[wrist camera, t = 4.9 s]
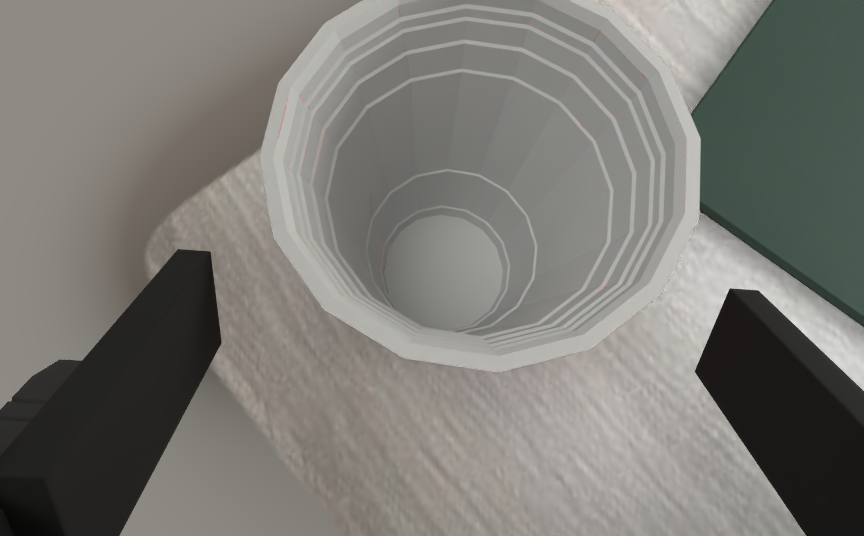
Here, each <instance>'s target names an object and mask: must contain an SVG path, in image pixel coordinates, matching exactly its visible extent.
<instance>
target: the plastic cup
mask: <svg viewBox="0 0 864 536" xmlns="http://www.w3.org/2000/svg"><path fill="white" fill-rule="evenodd" d="M700 150H701V138H700V136H699V133H698V131H697V129H696V126H695V124H694V122H693V119H692V117H691V115H690V112H689V110H688V107H687V105H686V103H685V100H684V98H683V96H682V93H681V91H680V89H679V86H678V84H677V82H676V79H675V77H674V75H673V72H672V70H671V68H670V66H669V65H668V64H667V63H666V62H665V61H664V60H663V59H662V58H661V57H660V56H659V55H658V54H657V53H656V52H655V51H654V50H653V49H652V48H651V47H650V46H649V45H648V44H647V43H646V42H645V41H644V40H643V39H642V38H641V37H640V36H639V35H638V34H637V33H636V32H635V31H634V30H633V29H632V28H631V27H630V26H629V25H628V24H627V23H626V22H625V21H624V20H623V19H622V18H621V17H620V16H619V15H618V14H617V13H616V12H615V11H614V10H612V9H609V8H607V7H605V6H603V5H601V4H599V3H597V2H595V1H593V0H363V1H361V2H359V3H357V4H356V5H354V6H352V7H351V8H349V9H347V10H346V11H344V12H343V13H341V14H339V15H338V16H336V17H334V18H332V19H331V20H329V21H328V22H326V23H325V24H324V25H323V26H322V27H321V29H320V30H319V31H318V33H317V34H316V35H315V37H314V38H313V39H312V40H311V42H310V43H309V44H308V46H307V47H306V48H305V49H304V51H303V52H302V53H301V55H300V56H299V57H298V58H297V60H296V61H295V62H294V64H293V65H292V66H291V67H290V69H289V70H288V71H287V73H286V74H285V75H284V77H283V78H282V79H281V80H280V82H279V83H278V86H277V90H276V94H275V98H274V102H273V106H272V110H271V114H270V117H269V121H268V125H267V129H266V133H265V137H264V140H263V144H262V148H261V152H260V156H259V161H260V166H261V172H262V178H263V183H264V189H265V194H266V200H267V205H268V211H269V216H270V222H271V228H272V233H273V238H274V240H275V241H276V242H277V244H278V245H279V247H280V248H281V250H282V251H283V252H284V254H285V255H286V257H287V258H288V260H289V261H290V262H291V264H292V265H293V267H294V268H295V270H296V271H297V272H298V274H299V275H300V277H301V278H302V280H303V281H304V283H305V284H306V285H307V287H308V288H309V290H310V291H311V293H312V294H313V295H314V297H315V298H316V300H317V301H318V303H319V304H320V305H321V307H322V308H323V310H325V311H327V312H328V313H330V314H331V315H333V316H335V317H336V318H338V319H340V320H341V321H343V322H345V323H346V324H348V325H350V326H351V327H353V328H354V329H356V330H358V331H359V332H361V333H363V334H364V335H366V336H368V337H369V338H371V339H372V340H374V341H376V342H377V343H379V344H381V345H382V346H384V347H386V348H387V349H389V350H390V351H392V352H394V353H395V354H397V355H399V356H400V357H402V358H404V359H411V360H418V361H424V362H431V363H438V364H444V365H451V366H458V367H464V368H471V369H478V370H484V371H491V372H497V373H500V372H504V371H508V370H512V369H516V368H519V367H523V366H527V365H531V364H535V363H539V362H543V361H547V360H551V359H555V358H559V357H562V356H566V355H570V354H574V353H578V352H582V351H586V350H590V349H592V348H593V347H595V346H596V345H597V344H598V343H600V342H601V341H602V340H604V339H605V338H606V337H607V336H609V335H610V334H611V333H612V332H614V331H615V330H616V329H617V328H619V327H620V326H621V325H623V324H624V323H625V322H626V321H628V320H629V319H630V318H631V317H633V316H634V315H635V314H636V313H638V312H639V311H640V310H642V309H643V308H644V307H645V306H647V305H648V304H649V303H650V302H652V301H653V300H654V299H655V298H657V297H658V296H659V295H660V294H662V292H663V290H664V288H665V286H666V284H667V282H668V280H669V278H670V276H671V274H672V272H673V270H674V268H675V266H676V264H677V262H678V260H679V258H680V256H681V254H682V252H683V250H684V248H685V246H686V244H687V242H688V240H689V238H690V236H691V234H692V232H693V230H694V228H695V226H696V224H697V222H698V220H699V209H700Z"/></svg>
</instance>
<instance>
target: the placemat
mask: <svg viewBox="0 0 864 536" xmlns="http://www.w3.org/2000/svg"><path fill="white" fill-rule="evenodd" d="M691 117H692V119H693V122H694V124H695V126H696V129H697V131H698V133H699V136H700V138H701V150H700V209H699V210H700V211H702V212H703V213H705V214H706V215H708V216H709V217H710V218H712V219H713V220H715V221H716V222H717V223H719V224H720V225H722V226H723V227H724V228H726V229H727V230H729V231H730V232H732V233H733V234H734V235H736V236H737V237H739V238H740V239H741V240H743V241H744V242H746V243H747V244H749V245H750V246H751V247H753V248H754V249H756V250H757V251H758V252H760V253H761V254H763V255H764V256H765V257H767V258H768V259H770V260H771V261H773V262H774V263H775V264H777V265H778V266H780V267H781V268H782V269H784V270H785V271H787V272H788V273H789V274H791V275H792V276H794V277H795V278H797V279H798V280H799V281H801V282H802V283H804V284H805V285H806V286H808V287H809V288H811V289H812V290H813V291H815V292H816V293H818V294H819V295H821V296H822V297H823V298H825V299H826V300H828V301H829V302H830V303H832V304H833V305H835V306H836V307H838V308H839V309H840V310H842V311H843V312H845V313H846V314H847V315H849V316H850V317H852V318H853V319H854V320H856V321H857V322H859V323H860V324H862V325H863V326H864V0H773V1H772V2H771V3H770V5H769V6H768V8H767V9H766V10H765V12H764V13H763V15H762V16H761V17H760V19H759V20H758V22H757V23H756V24H755V26H754V27H753V28H752V30H751V31H750V33H749V34H748V35H747V37H746V38H745V40H744V41H743V42H742V44H741V45H740V47H739V48H738V49H737V51H736V52H735V54H734V55H733V56H732V58H731V59H730V60H729V62H728V63H727V65H726V66H725V67H724V69H723V70H722V72H721V73H720V74H719V76H718V77H717V79H716V80H715V81H714V83H713V84H712V86H711V87H710V88H709V90H708V91H707V92H706V94H705V95H704V97H703V98H702V99H701V101H700V102H699V104H698V105H697V106H696V108H695V109H694V111H693V112H692V113H691Z"/></svg>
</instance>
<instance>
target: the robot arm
mask: <svg viewBox="0 0 864 536" xmlns="http://www.w3.org/2000/svg"><path fill="white" fill-rule="evenodd" d="M220 345H221V334H220V326H219V318H218V310H217V301H216V293H215V285H214V277H213V268H212V260H211V252H210V251H195V250H181V249H178V250H177V251H176V252H175V254H174V255H173V256H172V257H171V258H170V259H169V260H168V262H167V263H166V264H165V265H164V266H163V267H162V269H161V270H160V271H159V272H158V273H157V274H156V276H155V277H154V278H153V279H152V280H151V281H150V283H149V284H148V285H147V286H146V287H145V288H144V290H143V291H142V292H141V293H140V294H139V295H138V297H137V298H136V299H135V300H134V301H133V303H131V305H130V306H129V307H128V308H127V309H126V310H125V312H124V313H123V314H122V315H121V316H120V317H119V319H118V320H117V321H116V322H115V323H114V324H113V326H112V327H111V328H110V329H109V330H108V331H107V333H106V334H105V335H104V336H103V337H102V338H101V340H100V341H99V342H98V343H97V344H96V345H95V347H94V348H93V349H92V350H91V351H90V352H89V354H88V355H87V356H86V357H85V358H84V359H83V360H82V361H74V360H58V361H57V362H55V363H54V364H52V365H50V366H49V367H47V368H45V369H44V370H42V371H40V372H39V373H37V374H36V375H34V376H32V377H31V378H30V379H29V380H28V381H27V383H26V384H24V386H23V387H22V388H21V389H20V390H19V391H18V392H17V393H16V394H15V395H14V396H13V397H12V401H11V402H7V403H6V404H5V406H4V407H3V408H2V409H1V410H0V536H119V535H120V533H121V531H122V530H123V528H124V526H125V524H126V522H127V520H128V518H129V516H130V514H131V513H132V511H133V509H134V507H135V505H136V503H137V501H138V499H139V497H140V496H141V494H142V492H143V490H144V488H145V486H146V484H147V482H148V480H149V479H150V477H151V475H152V473H153V471H154V469H155V467H156V465H157V463H158V462H159V460H160V458H161V456H162V454H163V452H164V450H165V448H166V447H167V445H168V442H169V441H170V439H171V437H172V435H173V433H174V431H175V429H176V428H177V426H178V424H179V422H180V420H181V418H182V416H183V414H184V413H185V410H186V409H187V407H188V405H189V403H190V401H191V399H192V397H193V396H194V393H195V392H196V390H197V388H198V386H199V384H200V382H201V380H202V379H203V377H204V375H205V373H206V371H207V369H208V367H209V365H210V363H211V362H212V360H213V358H214V356H215V354H216V352H217V350H218V348H219V346H220ZM695 373H696V374H697V376H698V377H699V379H700V380H701V382H702V383H703V385H704V386H705V387H706V389H707V390H708V392H709V393H710V395H711V396H712V398H713V399H714V401H715V402H716V404H717V405H718V407H719V408H720V410H721V411H722V412H723V414H724V415H725V417H726V418H727V420H728V421H729V423H730V424H731V426H732V427H733V429H734V430H735V432H736V433H737V435H738V436H739V437H740V439H741V440H742V442H743V443H744V445H745V446H746V448H747V449H748V451H749V452H750V454H751V455H752V457H753V458H754V459H755V461H756V462H757V464H758V465H759V467H760V468H761V470H762V471H763V473H764V474H765V476H766V477H767V479H768V480H769V482H770V483H771V484H772V486H773V487H774V489H775V490H776V492H777V493H778V495H779V496H780V498H781V499H782V501H783V502H784V504H785V505H786V506H787V508H788V509H789V511H790V512H791V514H792V515H793V517H794V518H795V520H796V521H797V523H798V524H799V526H800V527H801V529H802V530H803V531H804V533H805V534H806V536H864V391H863V390H862V389H861V388H860V387H859V386H858V385H857V384H856V383H855V382H854V381H852V380H851V379H850V378H849V377H848V376H847V375H846V374H845V373H844V372H843V371H842V370H841V369H840V368H839V367H838V366H837V365H836V364H835V363H834V362H833V361H832V360H830V359H829V358H828V357H827V356H826V355H825V354H824V353H823V352H822V351H821V350H820V349H819V348H818V347H817V346H816V345H815V344H814V343H813V342H812V341H811V340H809V339H808V338H807V337H806V336H805V335H804V334H803V333H802V332H801V331H800V330H799V329H798V328H797V327H796V326H795V325H794V324H793V323H792V322H791V321H790V320H789V319H787V318H786V317H785V316H784V315H783V314H782V313H781V312H780V311H779V310H778V309H777V308H776V307H775V306H774V305H773V304H772V303H771V302H770V301H769V300H768V299H767V298H765V297H764V296H763V295H762V294H761V293H760V292H759V291H757V290H743V289H729V292H728V294H727V296H726V299H725V301H724V303H723V306H722V308H721V311H720V313H719V315H718V318H717V320H716V322H715V325H714V327H713V329H712V332H711V334H710V337H709V339H708V341H707V344H706V346H705V348H704V351H703V353H702V355H701V358H700V360H699V363H698V365H697V367H696V370H695Z"/></svg>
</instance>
